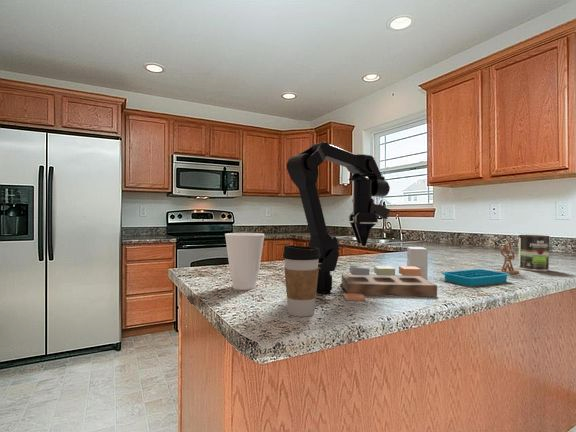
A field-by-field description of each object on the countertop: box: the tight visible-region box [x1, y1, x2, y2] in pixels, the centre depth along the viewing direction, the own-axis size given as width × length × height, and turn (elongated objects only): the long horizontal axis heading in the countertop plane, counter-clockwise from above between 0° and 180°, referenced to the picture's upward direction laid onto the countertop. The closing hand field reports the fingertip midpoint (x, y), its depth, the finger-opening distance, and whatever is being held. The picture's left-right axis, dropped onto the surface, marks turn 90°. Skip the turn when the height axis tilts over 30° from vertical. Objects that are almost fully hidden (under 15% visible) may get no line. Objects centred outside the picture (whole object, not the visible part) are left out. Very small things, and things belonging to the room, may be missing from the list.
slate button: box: [349, 265, 370, 275], centre depth 101 cm, size 5×5×2 cm
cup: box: [224, 232, 265, 291], centre depth 101 cm, size 12×12×16 cm
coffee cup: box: [282, 244, 321, 318], centre depth 75 cm, size 8×8×15 cm
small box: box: [406, 246, 428, 280], centre depth 119 cm, size 8×6×10 cm
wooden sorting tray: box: [341, 273, 438, 297], centre depth 99 cm, size 24×15×3 cm, turn 88°
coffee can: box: [517, 234, 551, 272], centre depth 139 cm, size 10×10×14 cm
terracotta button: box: [398, 265, 421, 276], centre depth 100 cm, size 5×5×2 cm
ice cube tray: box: [441, 268, 511, 287], centre depth 113 cm, size 12×20×3 cm, turn 114°
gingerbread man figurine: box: [496, 241, 520, 276], centre depth 128 cm, size 9×4×12 cm, turn 117°
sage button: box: [373, 265, 396, 276], centre depth 101 cm, size 5×5×2 cm
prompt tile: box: [343, 292, 366, 302], centre depth 89 cm, size 5×5×1 cm
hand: (361, 244), depth 107 cm, fingers open, 8 cm apart
